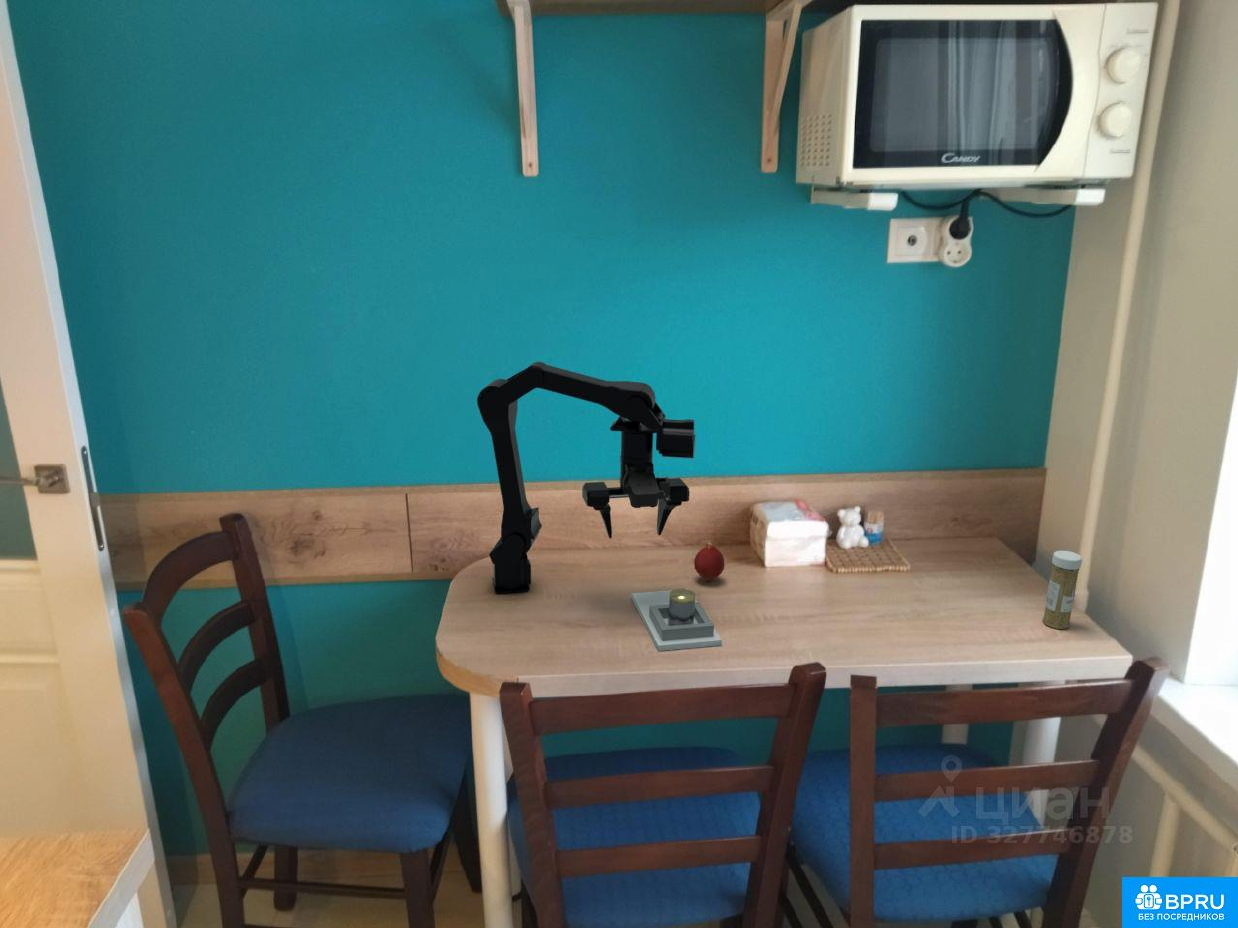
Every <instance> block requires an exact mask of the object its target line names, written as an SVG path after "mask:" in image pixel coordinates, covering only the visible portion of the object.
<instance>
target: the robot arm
mask: <svg viewBox="0 0 1238 928" xmlns="http://www.w3.org/2000/svg"><path fill="white" fill-rule="evenodd" d="M535 389H542V390H546V391H547V392H552V393H557V394H561V395H564V396H567V397H571V398H575V399H579V400H583V401H586V402H589V403H593V404H597V405H600V406H602V407H604V408H605V409H607V410H608V411H610V412H612V413H613V414H615V415H617V416H618V418H617V419H616V420H615V421H613V422H612V423H611V425H610V427H609V430H610V431H611V432H620V455H619V462H620V463H619V464H620V466H619V467H620V468H619V469H620V471H619V486H617V487H616V486H613V487H607V484H606V483H605V482H604V481H594V482H593V481H592V482H590V481H589V482H585V483H584V484H583V485H582V489H581V491H582V492H581V494H582V499H583V501H584V502H585V504H586V505H585V506H586V507H589V508H593V510H594V511H599V513H600V515H601V519H602V521H603V522H602V523H603V525H604V527H605V531H606V533H607V536H608V539H612V538H613V537H612V535H613V528H612V518H611V510H612V507H611V505H610V504H609V503H610V499H620V498H628V499H629V502H630V503H629V504H630V506H631V507H632V508H634V509H641V508H646V507H647V508H656V507H657V516H656V531H657V535H658V536H661V535H662V533H663V530H664V529H665V527H666V526H665V525H666V523H667V521H668V518H669V516H670V515H671V513H672V511H673V510H674V509H675V508H676V507H680V506H682V504H683V503H688V502H689V501H690V487H689V486H688V485H687V484H686V483H685V482H684V481H683V480H682V479H681V477H675V478H673V477H656V475H655V473H654V471H655V467H654V463H653V460H654V459H653V456H654V455H653V453H654V434H656V436H655V451H656V452H658V454H659V455H661V457H662V458H676V459H694V458H695V449H696V438H697V437H696V434H695V431H696V429H695V428H696V427H695V419H690V418H689V419H669V418H666V417H667V415H666V414H665V413H664V411H663V410H662V409H661V407H660V406H659V404H658V402H657V400H656V399H657V398H656V393H655V391H654V390H653V388H652V387H651V386H650V385H649V384H647V383H646V382H639V381H628V380H619V381H618V380H617V381H615V380H614V381H611V380H605V379H601V378H597V377H594V376H590V375H586V374H582V373H579V372H575V371H571V370H568V369H563V368H560V367H556V366H552V365H548V364H546V363H545V362H542V361H534V362H532V363H531V364H530V365H528V367H526V368H524V369H523V370H521V371H518V372H517V373H515V374H514V375H512V376H510V377H509V378H507V379H505V378H497V379H494V380H493V381H491V382H490V383H488V384H487V385H486V386H485V387H483V388H482V389H481V390H480V392H479V394H478V395H477V398H476V403H477V408H478V410H479V413H480V417H481V419H482V421H483V422H482V423H484V425H485V427H486V428H487V430H488V431H489V433H490V435H491V440H492V447H493V453H494V459H495V464H496V470H497V477H498V482H499V487H500V493H501V495H500V496H501V501H502V507H503V508H502V509H503V510H502V517H501V525H500V538H499V539H498V540H497V542H496V543H495V544H494V547H493V548H492V549H491V551H490V552H489V554H488V555H489V558H490V560H491V563H492V565H493V567H492V569H493V577H492V585H493V589H494V593H495V594H497V595H499V594H511V593H523V592H524V593H525V592H530V589H531V588H530V585H531V584H532V564H531V561H530V559H529V558H528V554H527V553H528V552H529V551H530V550H531V548H532V546H533V545H534V543H535V542H536V540H537V538H538V537H539V534H540V531H541V529H542V527H543V524H542V522H541V520H540V508H539V507H538V506H537V507H534V508H532V507H531V505H530V504H529V502H528V500H527V496H526V495H527V493H526V488H525V482H524V476H523V470H522V464H521V458H520V451H519V445H518V437H517V433H516V424H517V423H516V422H517V416H518V402H519V401H518V400H519V399H520V398H522V397H524V396H525V395H527V394H528V393H530V392H531V391H533V390H535Z"/></svg>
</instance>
